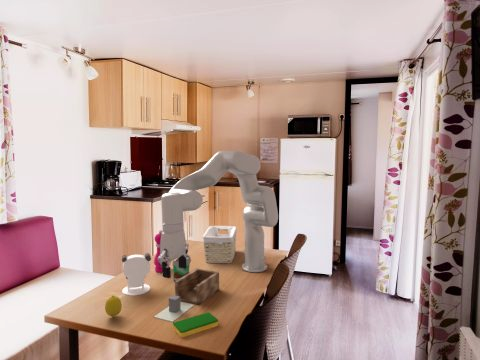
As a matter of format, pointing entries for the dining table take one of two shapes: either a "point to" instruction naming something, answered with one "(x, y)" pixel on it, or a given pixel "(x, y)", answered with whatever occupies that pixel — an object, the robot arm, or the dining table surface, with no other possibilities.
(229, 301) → the dining table surface
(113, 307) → the lemon
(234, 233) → the storage basket
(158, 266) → the pepper mill
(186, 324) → the dish sponge
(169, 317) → the cover plate
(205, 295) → the slide box
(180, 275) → the food container
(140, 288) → the panda figurine
